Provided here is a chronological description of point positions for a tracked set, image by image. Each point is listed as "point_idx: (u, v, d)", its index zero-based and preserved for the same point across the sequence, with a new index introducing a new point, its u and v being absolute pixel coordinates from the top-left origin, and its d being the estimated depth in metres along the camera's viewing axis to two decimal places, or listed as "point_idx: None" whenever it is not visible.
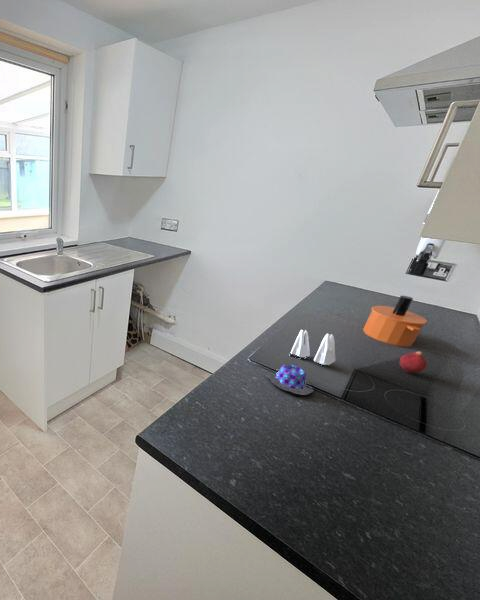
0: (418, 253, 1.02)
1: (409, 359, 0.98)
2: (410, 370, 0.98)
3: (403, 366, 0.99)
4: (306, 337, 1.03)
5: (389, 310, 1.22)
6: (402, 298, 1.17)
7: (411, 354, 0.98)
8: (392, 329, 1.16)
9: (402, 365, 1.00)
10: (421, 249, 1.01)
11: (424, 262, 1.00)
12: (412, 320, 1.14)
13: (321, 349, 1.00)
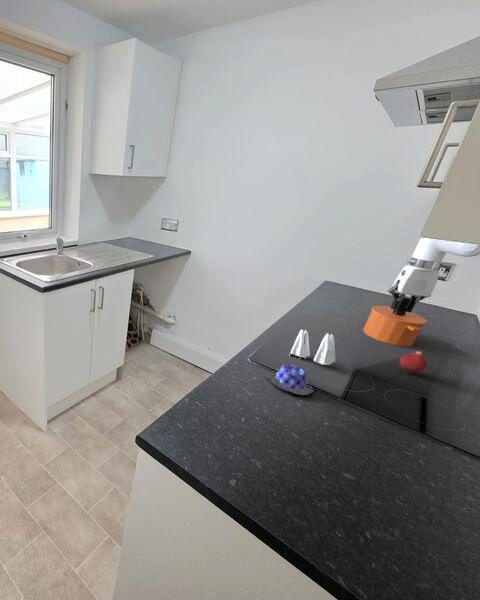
0: None
1: (409, 359, 0.98)
2: (410, 370, 0.98)
3: (403, 366, 0.99)
4: (306, 337, 1.03)
5: (389, 310, 1.22)
6: None
7: (411, 354, 0.98)
8: (392, 329, 1.16)
9: (402, 365, 1.00)
10: None
11: (395, 298, 1.17)
12: (412, 320, 1.14)
13: (321, 349, 1.00)
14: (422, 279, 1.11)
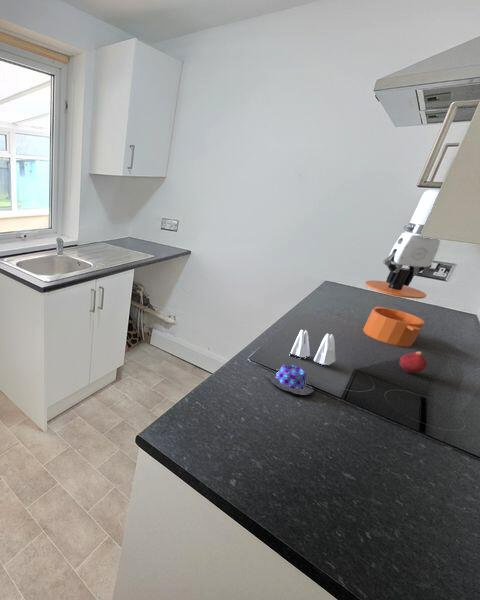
0: None
1: (409, 359, 0.98)
2: (410, 370, 0.98)
3: (403, 366, 0.99)
4: (306, 337, 1.03)
5: (385, 284, 1.10)
6: None
7: (411, 354, 0.98)
8: (392, 329, 1.16)
9: (402, 365, 1.00)
10: None
11: (391, 270, 1.05)
12: (410, 294, 1.02)
13: (321, 349, 1.00)
14: (421, 247, 0.99)
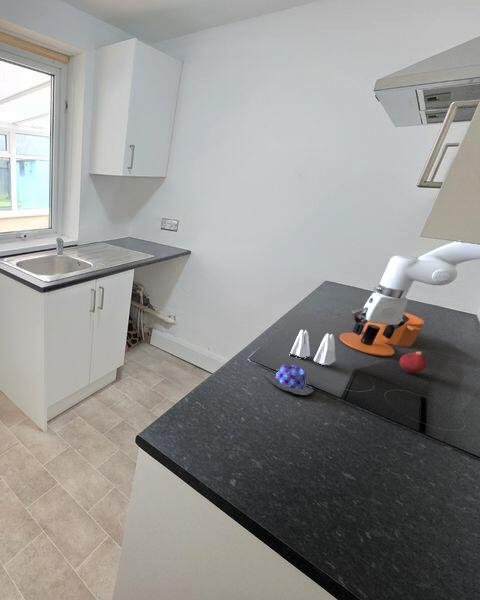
0: (361, 314, 1.13)
1: (409, 359, 0.98)
2: (410, 370, 0.98)
3: (403, 366, 0.99)
4: (306, 337, 1.03)
5: (357, 338, 1.18)
6: (369, 327, 1.12)
7: (411, 354, 0.98)
8: None
9: (402, 365, 1.00)
10: None
11: (357, 322, 1.12)
12: (379, 351, 1.10)
13: (321, 349, 1.00)
14: (390, 308, 1.06)
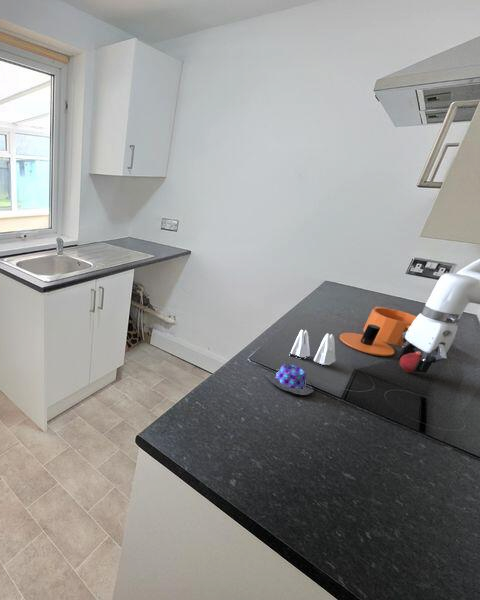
0: (429, 351, 0.92)
1: (409, 359, 0.98)
2: (410, 370, 0.98)
3: (403, 366, 0.99)
4: (306, 337, 1.03)
5: (357, 338, 1.18)
6: (369, 327, 1.12)
7: (411, 354, 0.98)
8: (392, 329, 1.16)
9: (402, 365, 1.00)
10: (430, 350, 0.92)
11: (432, 362, 0.93)
12: (379, 351, 1.10)
13: (321, 349, 1.00)
14: None
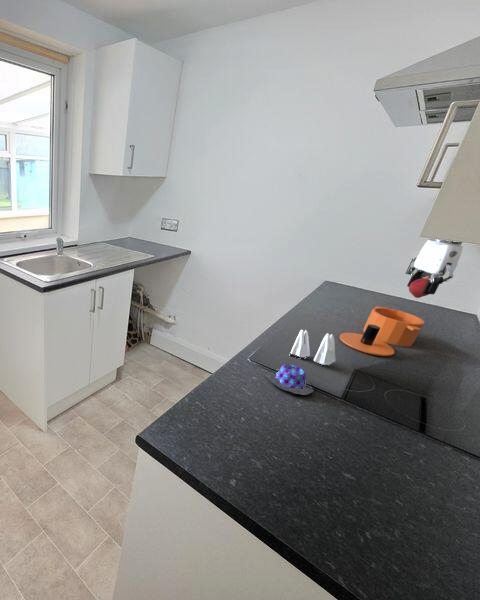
0: (437, 272, 1.02)
1: (418, 283, 1.07)
2: (419, 294, 1.07)
3: (412, 291, 1.09)
4: (306, 337, 1.03)
5: (357, 338, 1.18)
6: (369, 327, 1.12)
7: (420, 279, 1.08)
8: (392, 329, 1.16)
9: (411, 290, 1.09)
10: (438, 271, 1.01)
11: (440, 282, 1.02)
12: (379, 351, 1.10)
13: (321, 349, 1.00)
14: None
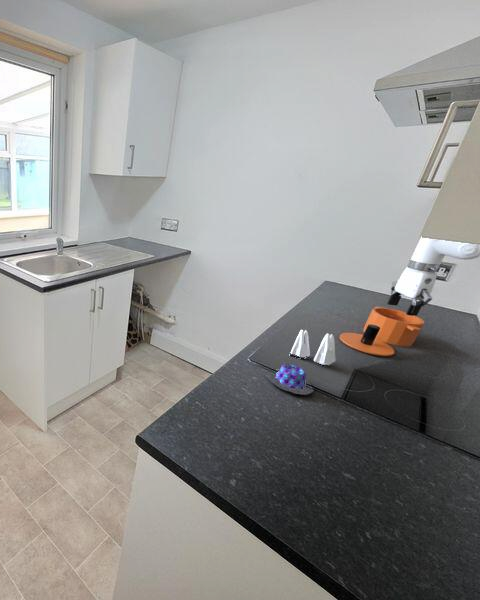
0: (414, 297, 1.12)
1: None
2: None
3: None
4: (306, 337, 1.03)
5: (357, 338, 1.18)
6: (369, 327, 1.12)
7: None
8: (392, 329, 1.16)
9: None
10: (417, 294, 1.11)
11: (421, 305, 1.11)
12: (379, 351, 1.10)
13: (321, 349, 1.00)
14: None
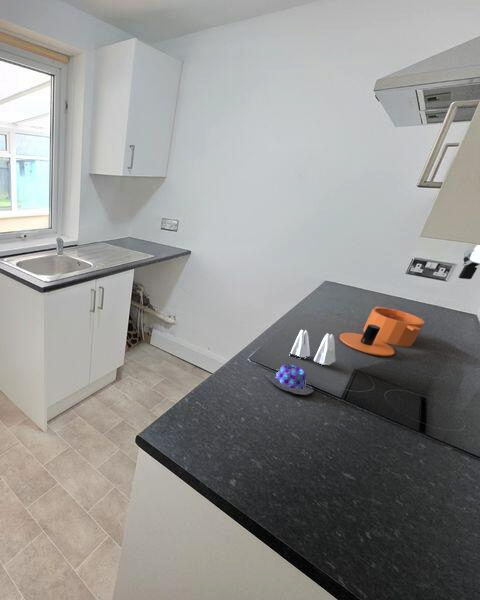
0: None
1: None
2: None
3: None
4: (306, 337, 1.03)
5: (357, 338, 1.18)
6: (369, 327, 1.12)
7: None
8: (392, 329, 1.16)
9: None
10: None
11: None
12: (379, 351, 1.10)
13: (321, 349, 1.00)
14: None
